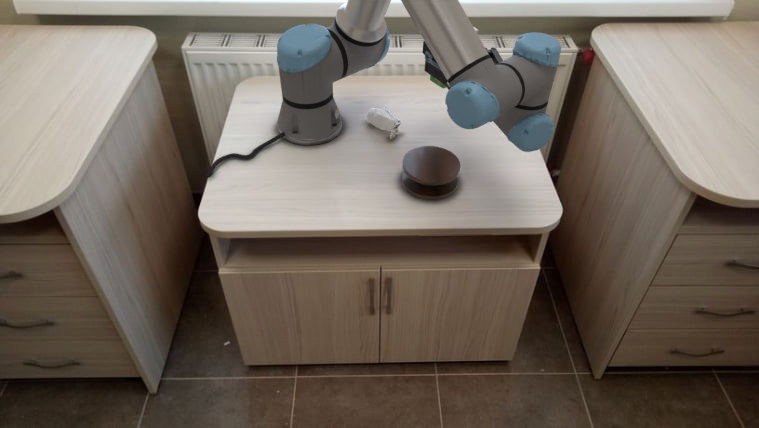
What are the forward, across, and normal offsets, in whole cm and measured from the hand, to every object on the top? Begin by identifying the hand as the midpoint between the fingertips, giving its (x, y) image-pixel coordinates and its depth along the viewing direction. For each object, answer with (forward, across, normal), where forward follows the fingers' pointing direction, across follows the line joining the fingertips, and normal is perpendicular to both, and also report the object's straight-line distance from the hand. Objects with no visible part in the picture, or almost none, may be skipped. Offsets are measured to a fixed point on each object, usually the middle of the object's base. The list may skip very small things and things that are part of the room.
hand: (444, 43), depth 120 cm
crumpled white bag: (+1, -14, -20) cm, 25 cm away
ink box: (-4, 0, -7) cm, 8 cm away
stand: (-21, -12, -20) cm, 31 cm away
